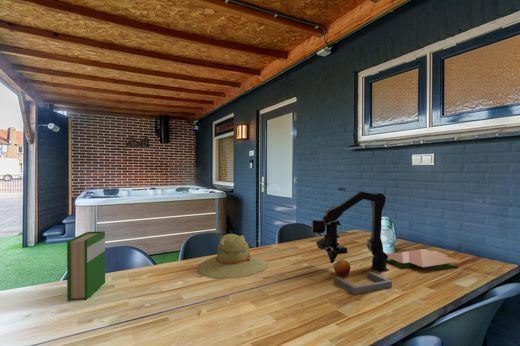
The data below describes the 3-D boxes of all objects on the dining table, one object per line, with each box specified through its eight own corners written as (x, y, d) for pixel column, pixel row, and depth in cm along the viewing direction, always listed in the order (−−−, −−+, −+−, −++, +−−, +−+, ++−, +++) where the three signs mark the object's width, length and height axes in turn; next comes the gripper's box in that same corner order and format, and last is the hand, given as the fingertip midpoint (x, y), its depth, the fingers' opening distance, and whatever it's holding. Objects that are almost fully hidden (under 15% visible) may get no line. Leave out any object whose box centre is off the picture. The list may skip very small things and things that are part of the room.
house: (463, 267, 151) (463, 251, 151) (416, 274, 140) (415, 258, 140) (425, 255, 173) (425, 242, 173) (382, 261, 162) (381, 247, 162)
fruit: (355, 274, 136) (346, 259, 136) (340, 282, 137) (331, 267, 138) (353, 269, 143) (344, 255, 144) (339, 276, 145) (331, 262, 146)
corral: (369, 276, 137) (369, 271, 137) (391, 286, 124) (391, 281, 124) (334, 282, 130) (334, 277, 130) (354, 294, 117) (354, 288, 117)
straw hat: (279, 260, 165) (279, 230, 165) (247, 285, 128) (247, 247, 128) (223, 253, 180) (223, 226, 180) (181, 273, 144) (181, 240, 144)
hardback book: (87, 300, 113) (87, 240, 113) (67, 301, 112) (66, 240, 112) (105, 283, 131) (104, 231, 131) (87, 284, 130) (87, 231, 130)
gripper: (309, 231, 154) (309, 259, 154) (329, 238, 137) (329, 270, 137) (326, 229, 158) (326, 257, 158) (348, 236, 141) (348, 267, 141)
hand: (331, 263), depth 149 cm, fingers closed
